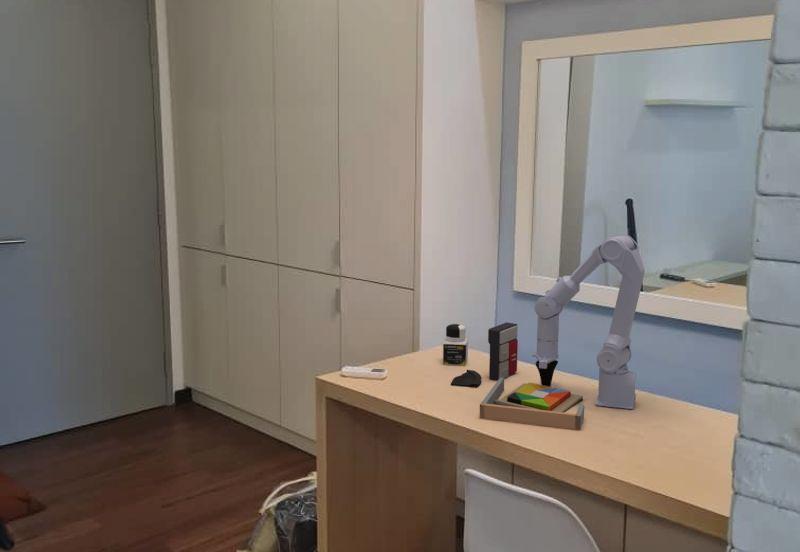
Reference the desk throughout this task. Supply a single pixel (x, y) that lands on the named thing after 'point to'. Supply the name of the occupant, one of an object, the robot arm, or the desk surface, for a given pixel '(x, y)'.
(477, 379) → the dark sector wedge
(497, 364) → the grey and red box
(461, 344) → the medicine bottle
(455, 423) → the desk surface
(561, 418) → the bay
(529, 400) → the wooden puzzle
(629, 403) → the robot arm
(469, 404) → the desk surface
